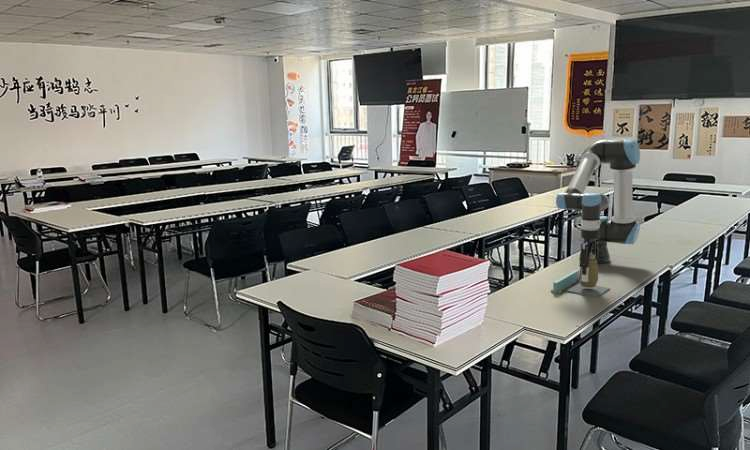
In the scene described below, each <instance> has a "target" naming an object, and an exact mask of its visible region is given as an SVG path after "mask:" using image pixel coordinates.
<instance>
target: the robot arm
mask: <svg viewBox="0 0 750 450" xmlns="http://www.w3.org/2000/svg"><path fill="white" fill-rule="evenodd" d="M639 145H640V144H638V142H637V141H636V140H635V139H627V138H626V139H625V138H624V139H601V140H597V141H595V142H594V143H592V144H590V145H589V146H588V147H587V148H586V149H585V150H584V151H582V154H581V156H580V158H579V161H580V162H579V164H578V167H577V168H576V171H575V173H574V174H573V176H572V179H571V181H570V182H569V184H568V186H567V189H566V190H565V192H559V193H557V195H556V198H555V204H556V207H557V209H560V210H568V211H581V223H580V225H581V226H580V228H581V229H580V231H581V232H580V237H581V238H582V239H583V243H580V244H581V245H580V253H579V267H582V276H581V281H584V282H588V271H589V267H588V262H589V257H590V253H591V252H592V254H594V255H595V259H596V260H597V264H607V263H609V262H610V261H611V255H610V251H609V249H608V243H612V244H619V245H620V244H621V245H634V244H635V243H636V242H637V240H638V238H639V233H640V229H641V224H640V222H639V221H637V218H636V216H635V215H633V212H634V211H633V170H634V169H635V168H636V167H637V165H638V164H639V163H640V161H641V158H640V157H641V150H640V146H639ZM601 164H608V165H609V168H610V170H611V171H612V172H613V173H612V175H613V176H612V177H613V180H612V181H613V215H612V217H611V218H610V219H609V217H608V215H607V216H605V215H601V212H603V211H605V210H606V209H608V207H609V206H610V203H611V201H610V198H609V196H607V195H606V194H604V193H598V192H587V193H585V190H586V188H587V186H588V184H589V182H590V180H591V179H592V176H593V174H594V173H595V170H596V169H597V168H599V166H601Z"/></svg>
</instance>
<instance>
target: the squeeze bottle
mask: <svg viewBox="0 0 750 450" xmlns="http://www.w3.org/2000/svg"><path fill="white" fill-rule="evenodd" d="M579 267H580V266H579ZM588 267H589V271H588V282H584V281H581V276H582V267H580V268H579V279H580V282H579V283H581V285H582V286H583V287H589V288H591V287H595V286H597V284H598V281H599V268H598V263H597V260H596V259H595V255H594V254H592V252H591V253H590V257H589V262H588Z"/></svg>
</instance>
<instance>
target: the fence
mask: <svg viewBox="0 0 750 450" xmlns="http://www.w3.org/2000/svg"><path fill="white" fill-rule="evenodd" d="M579 274H580V269H574V270H573V271H571V272H569V273H568V274H566V275H564V276H562V277H561V278H559V279H557V280H555V281H553V287H552V289H551V290H550V293H553V294H559V295H560V294H562V293H563V291H564V290H565V289H567V288H569V287H570V286H572V285H574V284H576V283H580V279H579Z"/></svg>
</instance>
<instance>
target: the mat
mask: <svg viewBox="0 0 750 450" xmlns="http://www.w3.org/2000/svg"><path fill="white" fill-rule="evenodd" d="M610 290H611V288H610V287H606V286H601V285H596V286H595V287H591V288H589V287H583V286H582V285H581V283H580V282H577V283H575V285H573V286H571V287H570V288H568V289H567V290H566V291H565V292H567V293H571V294H576V295H580V296H587V297H592V298H597V299H598V298H600V297H601V296H602V295H605V293H607V292H608V291H610Z"/></svg>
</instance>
